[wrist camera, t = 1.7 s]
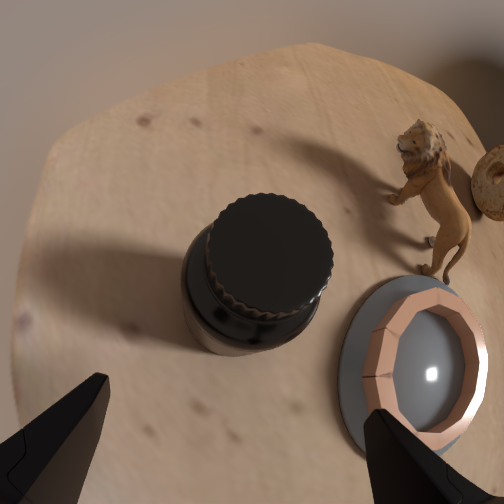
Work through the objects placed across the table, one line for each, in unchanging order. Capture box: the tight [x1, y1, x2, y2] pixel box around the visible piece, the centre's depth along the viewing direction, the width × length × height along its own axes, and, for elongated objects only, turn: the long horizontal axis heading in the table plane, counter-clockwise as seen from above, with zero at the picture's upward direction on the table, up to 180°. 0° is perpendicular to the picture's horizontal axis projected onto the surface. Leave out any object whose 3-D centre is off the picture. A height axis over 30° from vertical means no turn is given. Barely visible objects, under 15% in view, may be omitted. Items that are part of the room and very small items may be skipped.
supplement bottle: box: [181, 193, 334, 357], centre depth 16 cm, size 7×7×12 cm
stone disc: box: [471, 144, 504, 221], centre depth 29 cm, size 10×4×10 cm, turn 162°
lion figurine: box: [390, 119, 472, 285], centre depth 25 cm, size 15×5×9 cm, turn 23°
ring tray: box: [338, 275, 488, 456], centre depth 22 cm, size 18×18×3 cm
